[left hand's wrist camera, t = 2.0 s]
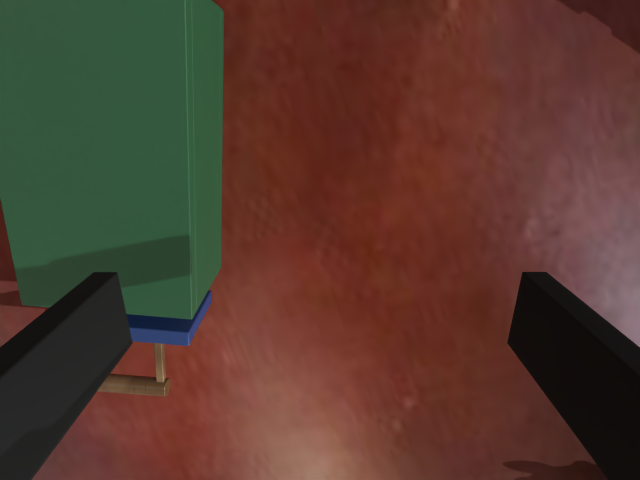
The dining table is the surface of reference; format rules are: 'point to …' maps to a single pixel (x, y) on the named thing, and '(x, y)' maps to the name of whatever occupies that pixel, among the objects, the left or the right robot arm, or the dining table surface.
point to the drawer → (155, 350)
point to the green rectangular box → (113, 148)
